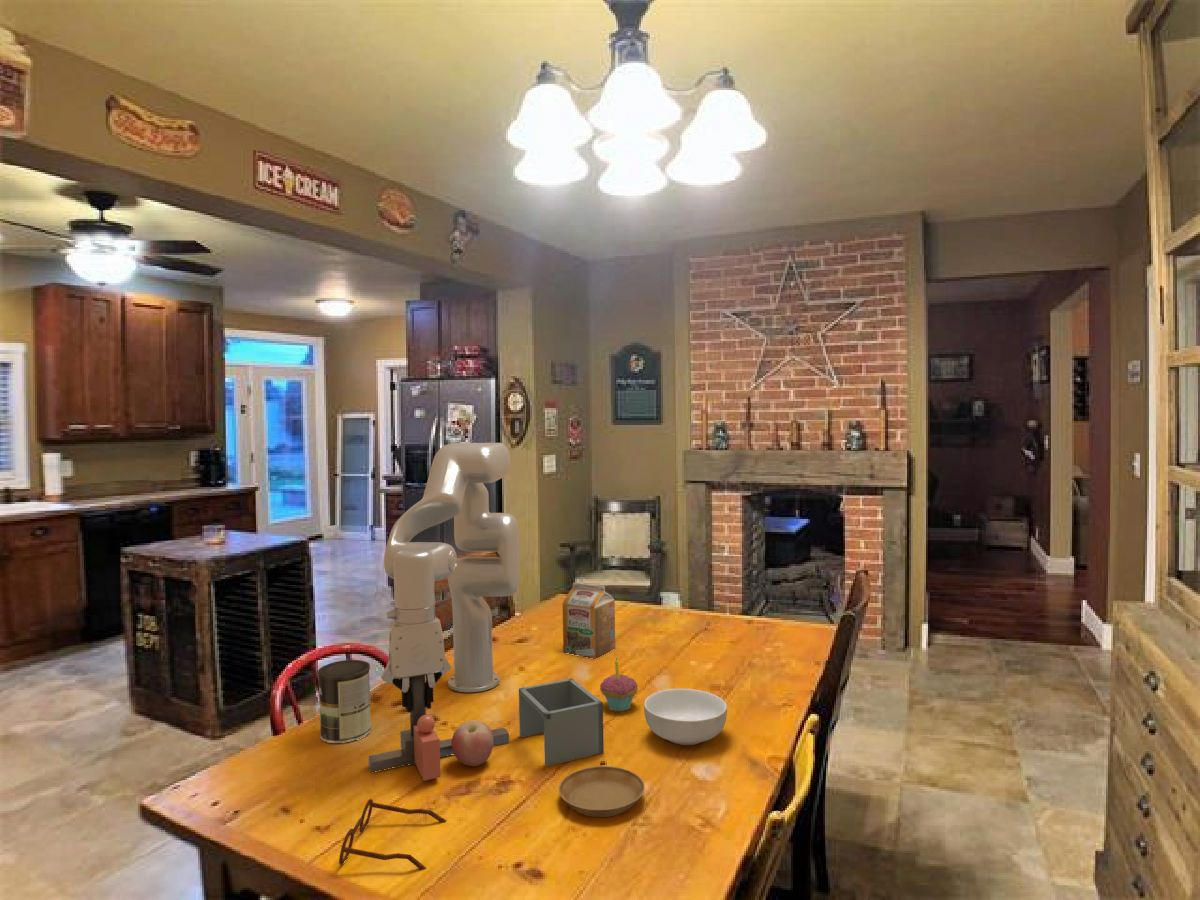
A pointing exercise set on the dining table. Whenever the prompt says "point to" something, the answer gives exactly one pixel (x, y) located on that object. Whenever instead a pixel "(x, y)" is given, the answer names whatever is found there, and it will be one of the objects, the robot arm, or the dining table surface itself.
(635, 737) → the dining table surface
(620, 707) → the cupcake
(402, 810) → the glasses
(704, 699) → the cereal bowl
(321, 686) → the coffee can
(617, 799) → the plant saucer
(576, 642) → the milk carton
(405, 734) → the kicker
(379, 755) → the rail
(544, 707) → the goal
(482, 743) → the apple
